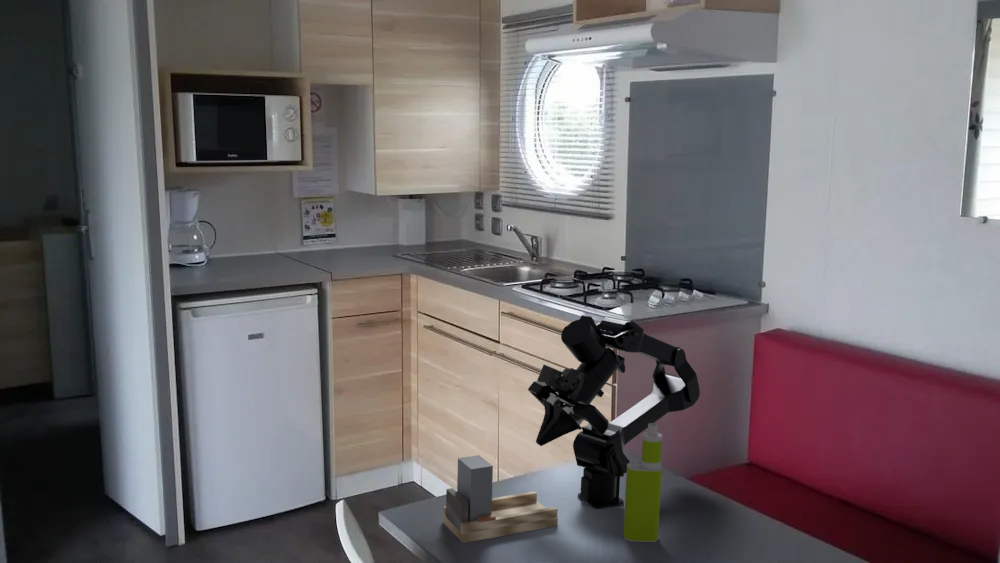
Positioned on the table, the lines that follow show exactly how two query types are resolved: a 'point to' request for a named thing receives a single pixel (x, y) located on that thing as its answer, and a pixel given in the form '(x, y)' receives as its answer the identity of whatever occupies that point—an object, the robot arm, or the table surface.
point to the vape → (644, 490)
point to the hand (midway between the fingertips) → (538, 444)
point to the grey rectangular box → (475, 485)
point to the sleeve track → (497, 516)
